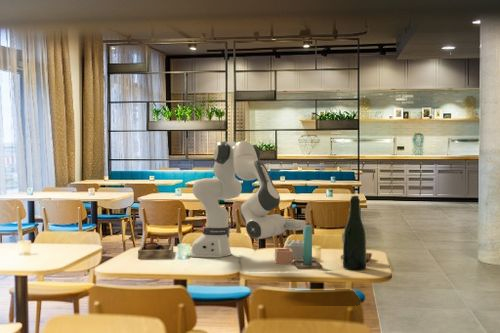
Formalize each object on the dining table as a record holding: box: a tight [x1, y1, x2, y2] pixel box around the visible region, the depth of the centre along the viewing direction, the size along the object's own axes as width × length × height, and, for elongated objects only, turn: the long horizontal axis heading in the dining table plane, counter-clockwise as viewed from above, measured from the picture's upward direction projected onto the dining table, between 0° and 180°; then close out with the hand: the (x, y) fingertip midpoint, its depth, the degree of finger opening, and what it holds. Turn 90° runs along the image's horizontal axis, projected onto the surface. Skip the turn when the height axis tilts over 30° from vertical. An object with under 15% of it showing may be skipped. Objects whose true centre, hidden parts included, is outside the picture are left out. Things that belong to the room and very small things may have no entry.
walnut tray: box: [293, 259, 323, 270], centre depth 283 cm, size 11×14×2 cm
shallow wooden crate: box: [137, 243, 174, 260], centre depth 314 cm, size 16×18×4 cm
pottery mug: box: [142, 241, 164, 250], centre depth 311 cm, size 12×10×8 cm
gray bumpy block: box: [285, 239, 303, 260], centre depth 306 cm, size 10×13×9 cm
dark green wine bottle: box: [342, 195, 367, 271], centre depth 281 cm, size 10×10×33 cm
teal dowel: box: [302, 224, 313, 266], centre depth 283 cm, size 4×4×18 cm
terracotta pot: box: [274, 248, 294, 265], centre depth 292 cm, size 8×8×6 cm
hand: (293, 221), depth 273 cm, fingers open, 8 cm apart
